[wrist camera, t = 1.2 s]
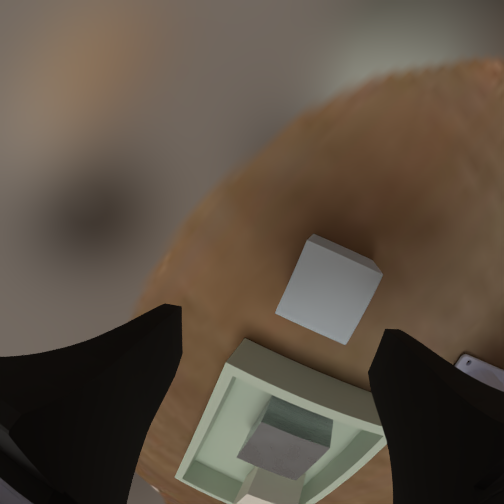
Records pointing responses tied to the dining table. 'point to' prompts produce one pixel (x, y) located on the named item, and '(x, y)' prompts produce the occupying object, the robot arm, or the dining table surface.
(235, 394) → the crate
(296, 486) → the beige cube
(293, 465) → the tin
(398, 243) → the dining table surface
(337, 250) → the grey cube
